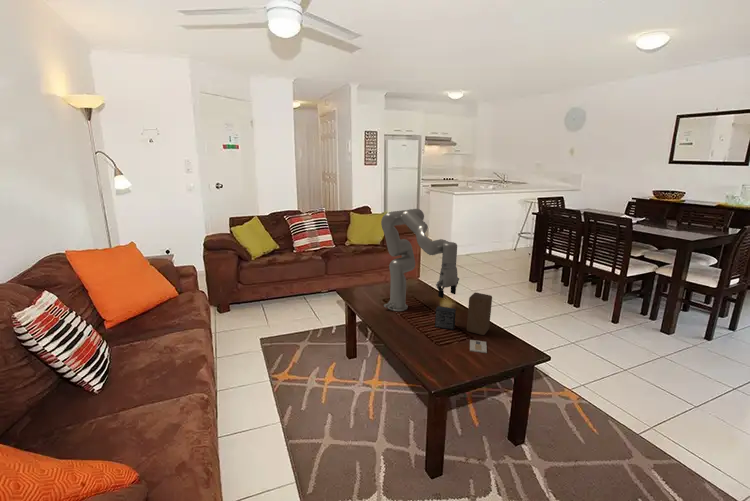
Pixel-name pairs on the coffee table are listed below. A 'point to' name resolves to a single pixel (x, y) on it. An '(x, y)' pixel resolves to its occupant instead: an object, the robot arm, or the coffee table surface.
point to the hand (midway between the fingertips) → (446, 295)
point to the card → (478, 346)
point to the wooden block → (479, 313)
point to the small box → (445, 318)
